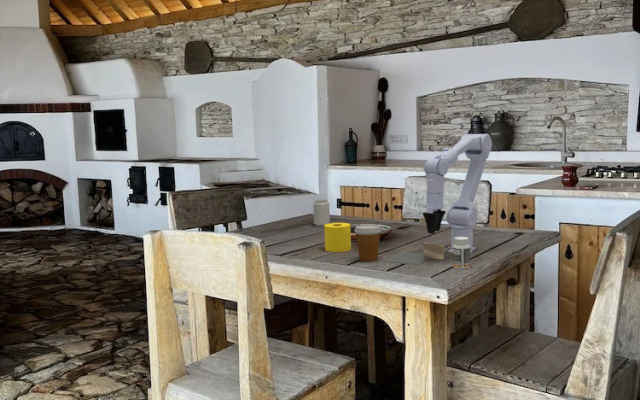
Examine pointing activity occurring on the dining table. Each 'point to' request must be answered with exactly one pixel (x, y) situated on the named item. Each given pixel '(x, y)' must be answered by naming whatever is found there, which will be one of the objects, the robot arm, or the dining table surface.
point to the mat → (407, 258)
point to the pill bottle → (461, 253)
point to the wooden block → (433, 251)
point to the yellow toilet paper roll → (337, 237)
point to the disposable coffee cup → (368, 241)
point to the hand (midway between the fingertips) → (433, 232)
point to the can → (321, 212)
